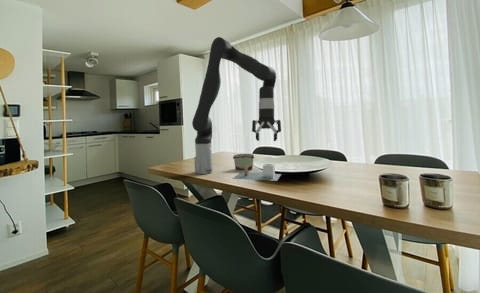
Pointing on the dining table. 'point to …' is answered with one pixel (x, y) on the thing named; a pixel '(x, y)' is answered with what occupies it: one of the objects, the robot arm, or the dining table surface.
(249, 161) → the food container
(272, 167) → the white block
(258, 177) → the board
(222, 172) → the dining table surface
